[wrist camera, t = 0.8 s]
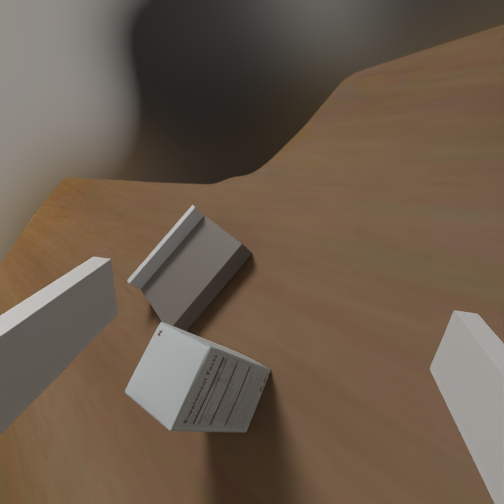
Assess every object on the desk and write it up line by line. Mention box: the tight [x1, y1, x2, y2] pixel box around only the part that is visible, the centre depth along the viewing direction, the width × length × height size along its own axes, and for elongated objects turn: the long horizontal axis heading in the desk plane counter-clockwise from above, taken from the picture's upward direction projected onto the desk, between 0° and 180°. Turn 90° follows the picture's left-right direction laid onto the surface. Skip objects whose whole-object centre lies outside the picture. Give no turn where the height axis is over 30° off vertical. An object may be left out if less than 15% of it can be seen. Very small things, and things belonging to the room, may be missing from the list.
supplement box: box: [125, 322, 271, 432], centre depth 32 cm, size 7×7×13 cm
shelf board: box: [127, 205, 252, 331], centre depth 47 cm, size 16×12×5 cm
